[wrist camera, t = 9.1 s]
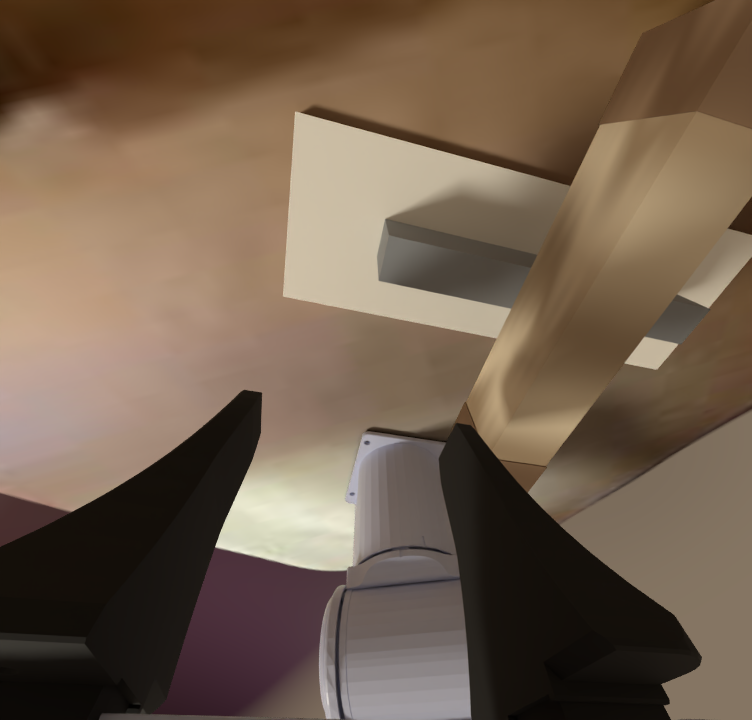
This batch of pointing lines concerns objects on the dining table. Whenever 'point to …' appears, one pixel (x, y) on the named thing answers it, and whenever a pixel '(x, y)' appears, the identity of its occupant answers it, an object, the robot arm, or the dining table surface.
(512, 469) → the shiny metallic bar
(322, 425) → the dining table surface
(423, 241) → the ridge stand
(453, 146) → the dining table surface
